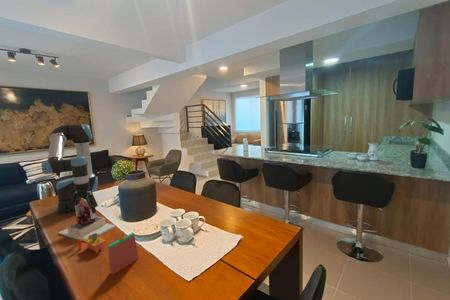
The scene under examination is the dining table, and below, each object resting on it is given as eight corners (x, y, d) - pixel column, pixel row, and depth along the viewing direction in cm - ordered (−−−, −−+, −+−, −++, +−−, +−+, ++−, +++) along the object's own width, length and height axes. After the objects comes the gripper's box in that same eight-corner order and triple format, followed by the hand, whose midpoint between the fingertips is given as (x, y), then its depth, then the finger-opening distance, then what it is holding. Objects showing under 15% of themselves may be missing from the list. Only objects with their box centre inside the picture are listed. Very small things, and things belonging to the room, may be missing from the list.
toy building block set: (112, 275, 90) (108, 244, 88) (74, 250, 109) (70, 225, 107) (138, 258, 100) (135, 230, 98) (99, 239, 119) (96, 215, 117)
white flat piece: (88, 220, 142) (87, 213, 142) (115, 226, 132) (115, 218, 131) (58, 233, 126) (57, 225, 125) (87, 242, 116) (86, 233, 115)
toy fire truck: (85, 227, 122) (82, 210, 121) (75, 222, 129) (73, 206, 128) (97, 222, 128) (95, 205, 127) (87, 217, 135) (85, 202, 133)
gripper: (61, 182, 127) (66, 216, 130) (89, 186, 117) (94, 222, 120) (74, 179, 133) (79, 211, 136) (101, 182, 124) (106, 216, 127)
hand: (86, 216), depth 128 cm, fingers open, 13 cm apart
